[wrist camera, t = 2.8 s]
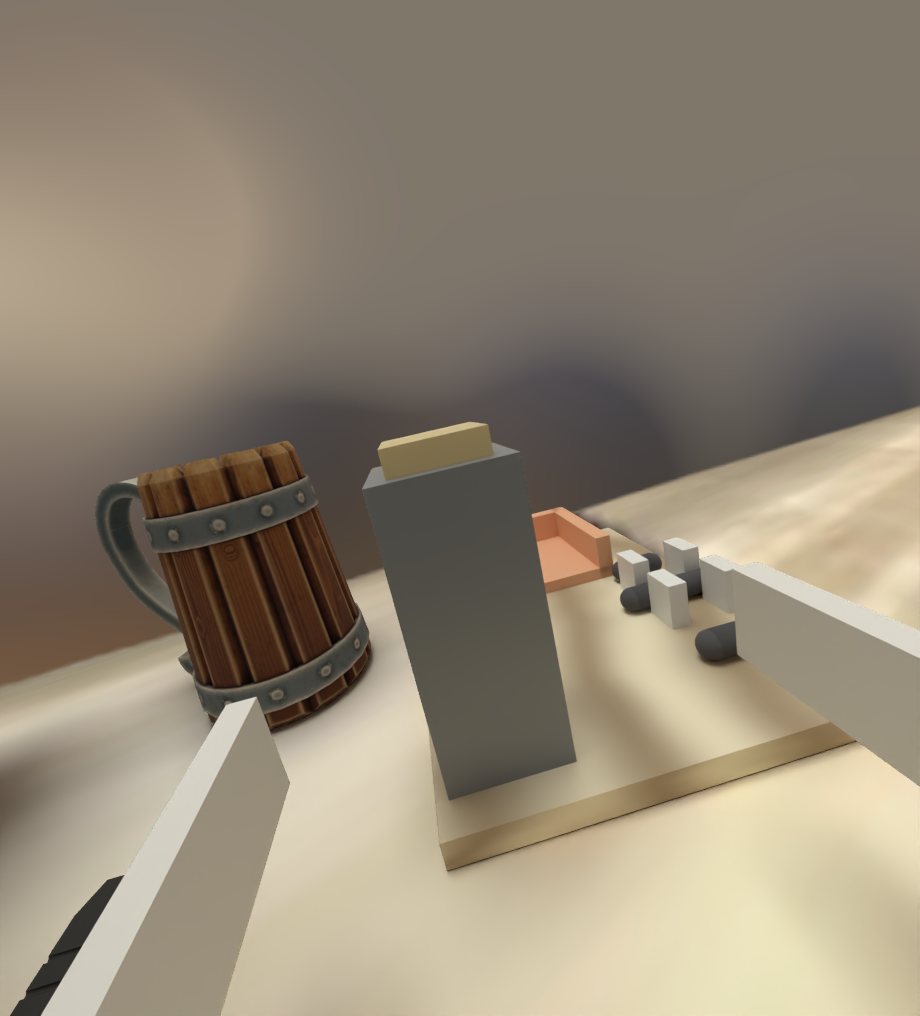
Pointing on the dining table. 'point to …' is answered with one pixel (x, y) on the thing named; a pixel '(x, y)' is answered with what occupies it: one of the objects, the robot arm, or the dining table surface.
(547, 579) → the end holder
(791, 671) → the robot arm
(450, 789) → the grey tall block
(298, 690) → the mug
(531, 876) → the dining table surface
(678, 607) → the cable clips
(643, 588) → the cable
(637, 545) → the board
